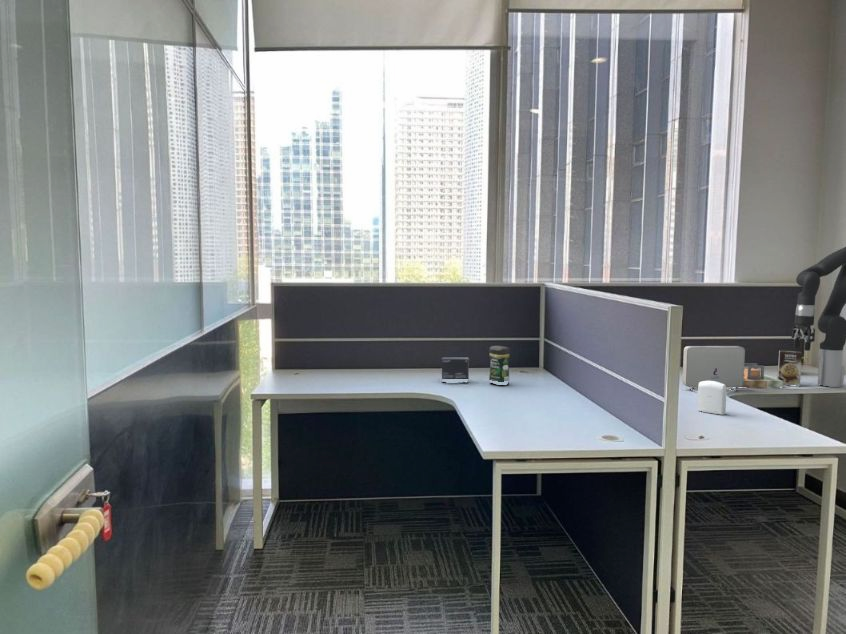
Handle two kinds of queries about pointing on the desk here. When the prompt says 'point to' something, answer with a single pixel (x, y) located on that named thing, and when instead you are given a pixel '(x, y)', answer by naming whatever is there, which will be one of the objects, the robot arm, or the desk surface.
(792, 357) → the coffee box
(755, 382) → the wooden cubby panel
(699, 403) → the photo printer
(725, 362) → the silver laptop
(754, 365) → the square frames
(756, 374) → the block
